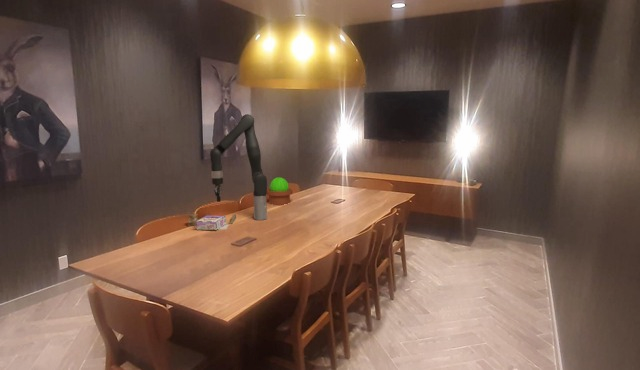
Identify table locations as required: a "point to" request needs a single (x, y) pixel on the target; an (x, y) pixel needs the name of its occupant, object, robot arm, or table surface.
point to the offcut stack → (192, 220)
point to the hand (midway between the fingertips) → (218, 201)
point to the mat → (221, 227)
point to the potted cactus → (279, 192)
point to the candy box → (211, 222)
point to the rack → (230, 218)
